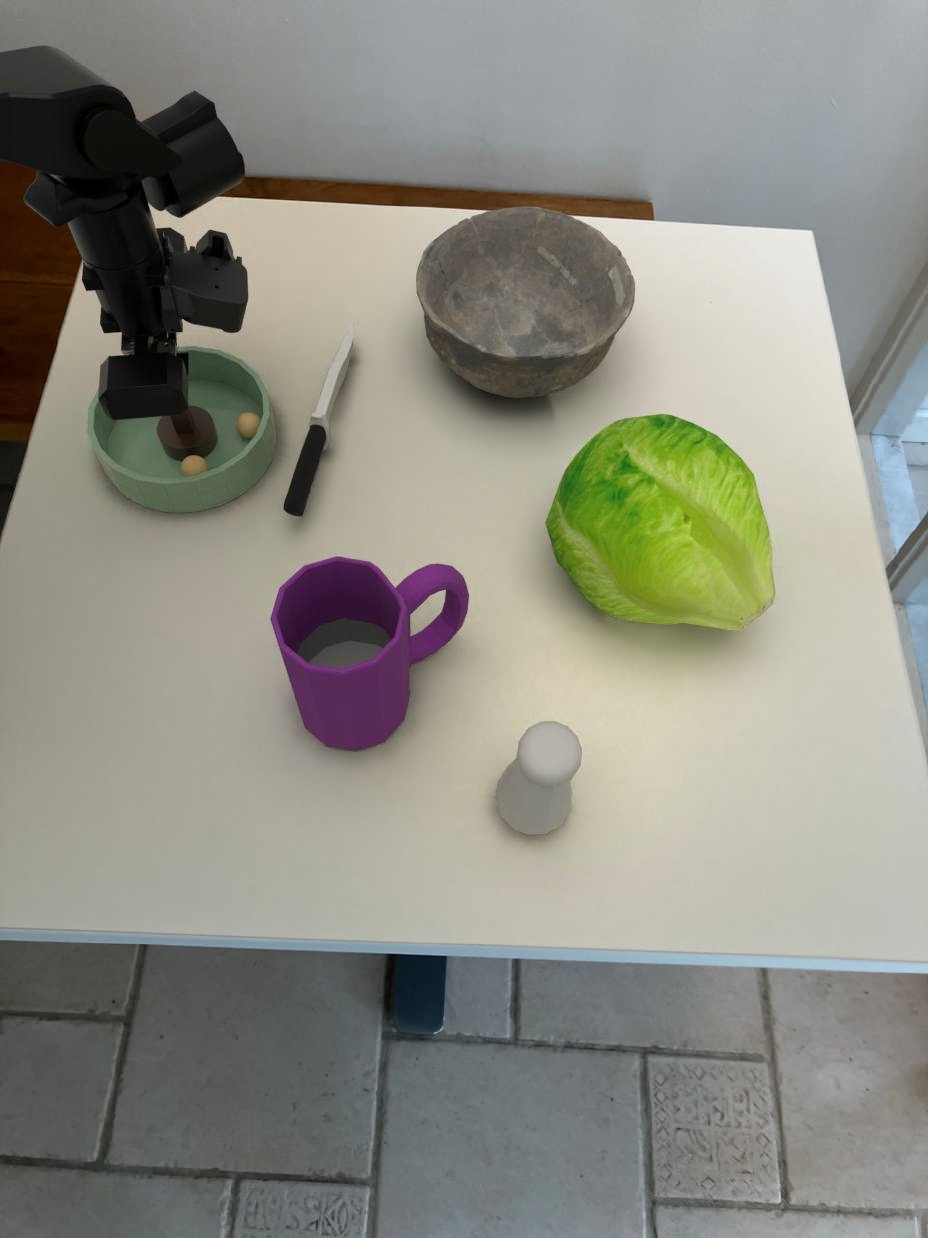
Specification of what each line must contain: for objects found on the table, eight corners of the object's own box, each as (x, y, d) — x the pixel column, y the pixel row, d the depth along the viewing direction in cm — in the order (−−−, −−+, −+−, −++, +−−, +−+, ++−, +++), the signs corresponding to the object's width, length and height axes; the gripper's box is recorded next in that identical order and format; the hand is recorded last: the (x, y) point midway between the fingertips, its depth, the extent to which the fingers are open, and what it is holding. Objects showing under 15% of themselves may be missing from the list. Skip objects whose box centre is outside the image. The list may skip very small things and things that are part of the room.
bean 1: (175, 479, 81) (179, 469, 79) (183, 457, 82) (188, 446, 80) (200, 489, 82) (205, 480, 80) (209, 467, 83) (214, 457, 81)
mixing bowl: (98, 521, 80) (81, 490, 76) (107, 386, 87) (92, 352, 83) (280, 504, 81) (272, 474, 77) (273, 373, 89) (265, 340, 85)
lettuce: (657, 709, 75) (705, 656, 61) (503, 543, 81) (515, 459, 66) (790, 594, 79) (865, 518, 65) (635, 442, 84) (673, 342, 70)
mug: (276, 688, 73) (243, 597, 59) (430, 594, 77) (432, 491, 64) (336, 776, 69) (316, 700, 56) (494, 672, 74) (509, 579, 61)
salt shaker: (481, 824, 68) (493, 769, 56) (508, 759, 71) (524, 693, 59) (553, 854, 67) (579, 803, 56) (577, 786, 70) (607, 725, 58)
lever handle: (161, 464, 82) (126, 380, 73) (162, 421, 85) (128, 334, 75) (218, 459, 83) (191, 375, 73) (217, 417, 85) (191, 330, 76)
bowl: (467, 262, 98) (472, 180, 89) (642, 324, 94) (665, 244, 86) (381, 389, 89) (376, 310, 80) (572, 462, 85) (589, 388, 76)
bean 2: (266, 428, 83) (259, 445, 84) (263, 409, 84) (257, 426, 86) (240, 424, 82) (234, 441, 83) (238, 404, 83) (232, 422, 84)
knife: (346, 338, 92) (342, 300, 87) (363, 340, 92) (360, 302, 87) (285, 536, 80) (277, 503, 75) (305, 539, 80) (298, 506, 75)
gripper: (233, 326, 61) (268, 468, 75) (228, 157, 70) (260, 311, 84) (66, 338, 60) (133, 480, 74) (83, 165, 69) (140, 320, 82)
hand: (172, 393), depth 78 cm, fingers open, 3 cm apart
